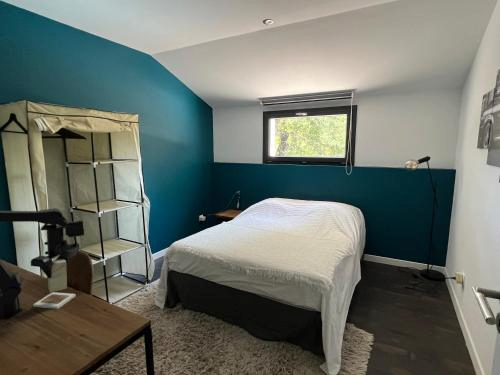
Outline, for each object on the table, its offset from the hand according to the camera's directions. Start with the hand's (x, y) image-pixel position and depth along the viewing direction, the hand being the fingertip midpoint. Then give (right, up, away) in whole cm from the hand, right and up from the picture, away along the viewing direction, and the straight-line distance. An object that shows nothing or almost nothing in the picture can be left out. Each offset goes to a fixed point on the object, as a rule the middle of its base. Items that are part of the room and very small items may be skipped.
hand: (57, 274), depth 115 cm
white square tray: (-2, -13, +2) cm, 13 cm away
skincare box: (0, -7, +1) cm, 7 cm away
